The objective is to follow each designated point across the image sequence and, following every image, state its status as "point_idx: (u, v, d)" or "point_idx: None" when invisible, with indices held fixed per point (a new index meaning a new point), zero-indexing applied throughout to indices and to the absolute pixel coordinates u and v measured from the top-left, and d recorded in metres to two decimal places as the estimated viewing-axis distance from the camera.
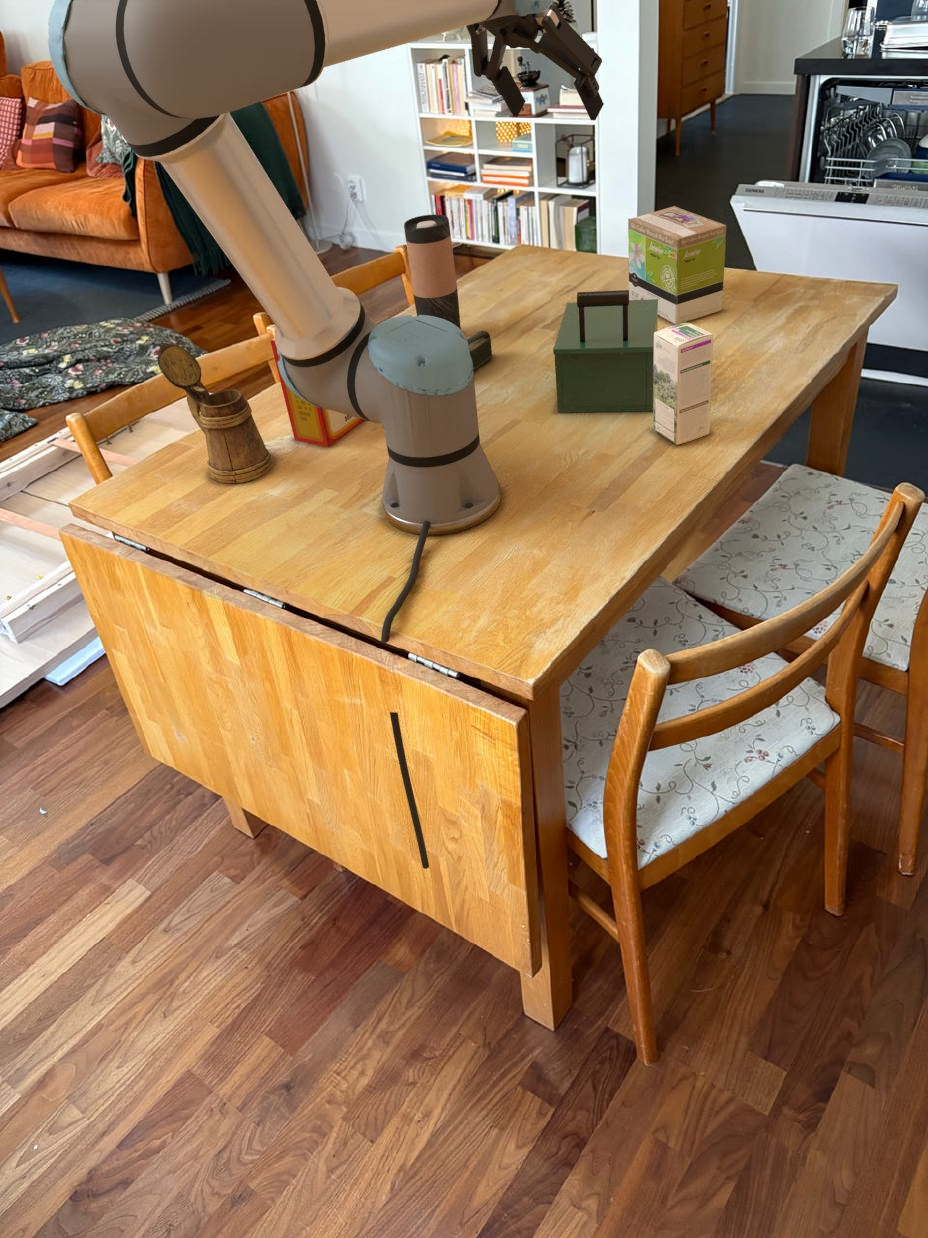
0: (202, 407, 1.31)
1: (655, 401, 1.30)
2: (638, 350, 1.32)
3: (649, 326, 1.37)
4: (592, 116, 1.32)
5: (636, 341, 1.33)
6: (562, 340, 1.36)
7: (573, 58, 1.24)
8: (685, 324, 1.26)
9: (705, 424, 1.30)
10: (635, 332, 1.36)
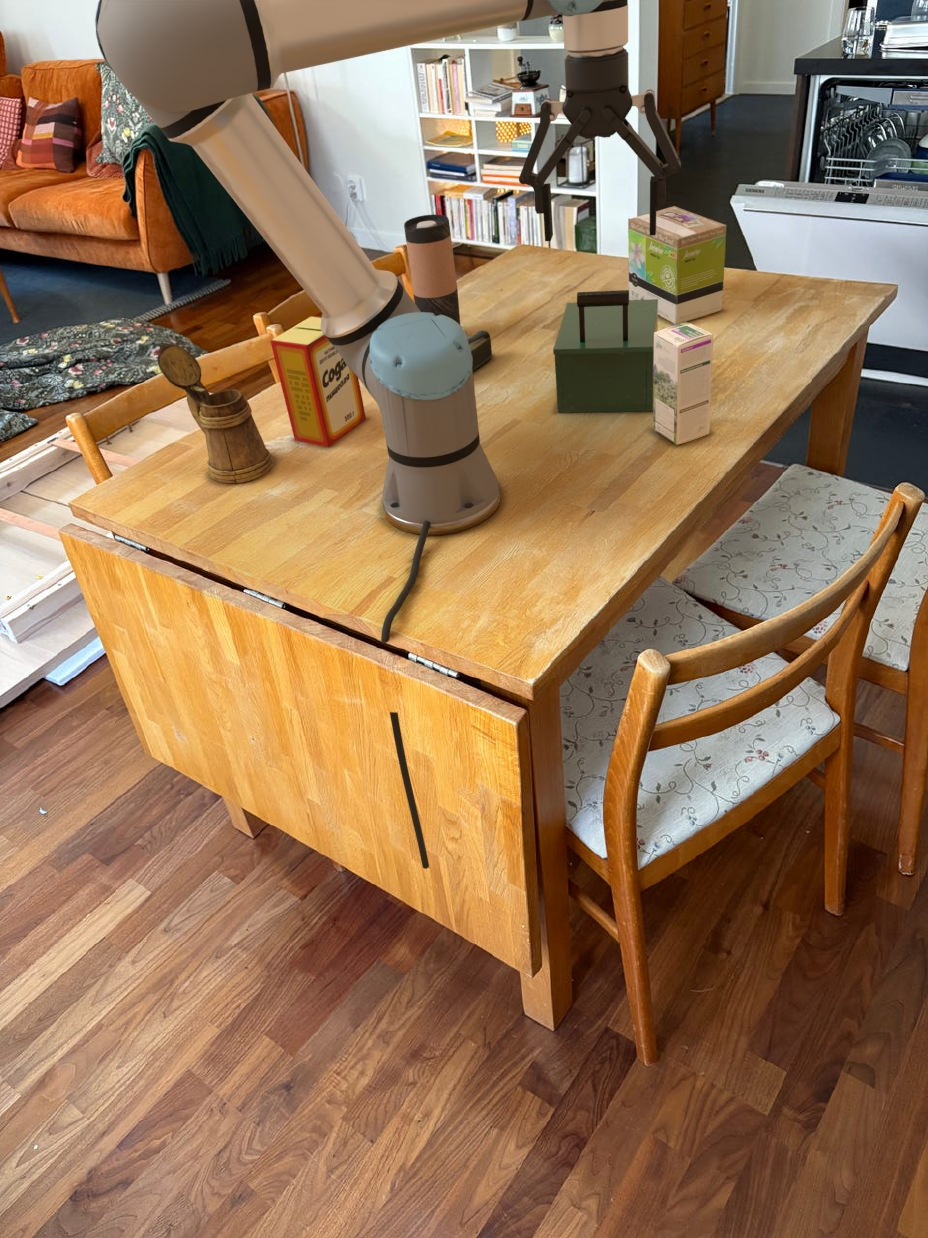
0: (202, 407, 1.31)
1: (655, 401, 1.30)
2: (638, 350, 1.32)
3: (649, 326, 1.37)
4: (653, 229, 1.23)
5: (636, 341, 1.33)
6: (562, 340, 1.36)
7: (664, 146, 1.17)
8: (685, 324, 1.26)
9: (705, 424, 1.30)
10: (635, 332, 1.36)
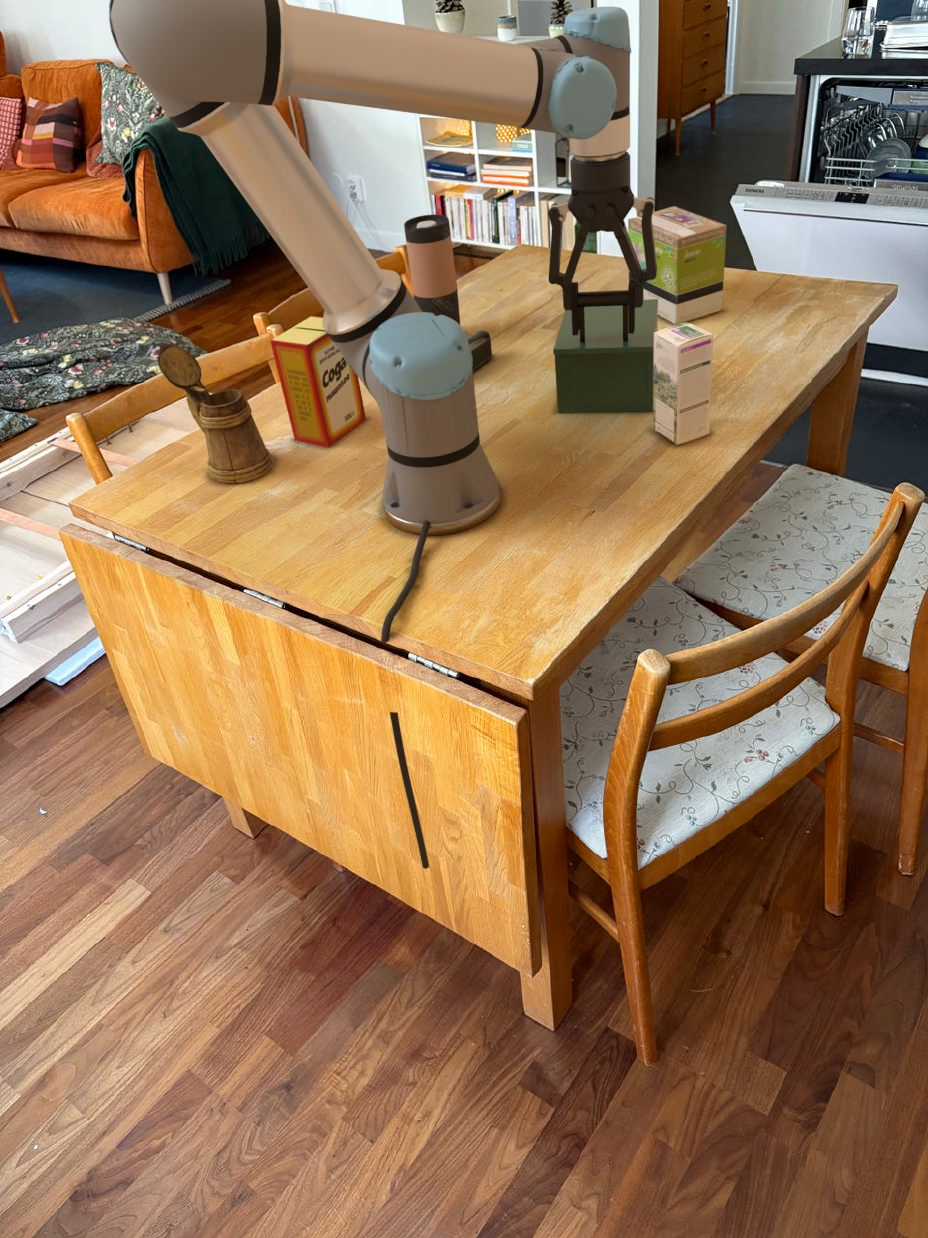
0: (202, 407, 1.31)
1: (655, 401, 1.30)
2: (638, 350, 1.32)
3: (649, 326, 1.37)
4: (632, 328, 1.32)
5: (636, 341, 1.33)
6: (562, 340, 1.36)
7: (648, 252, 1.25)
8: (685, 324, 1.26)
9: (705, 424, 1.30)
10: (635, 332, 1.36)
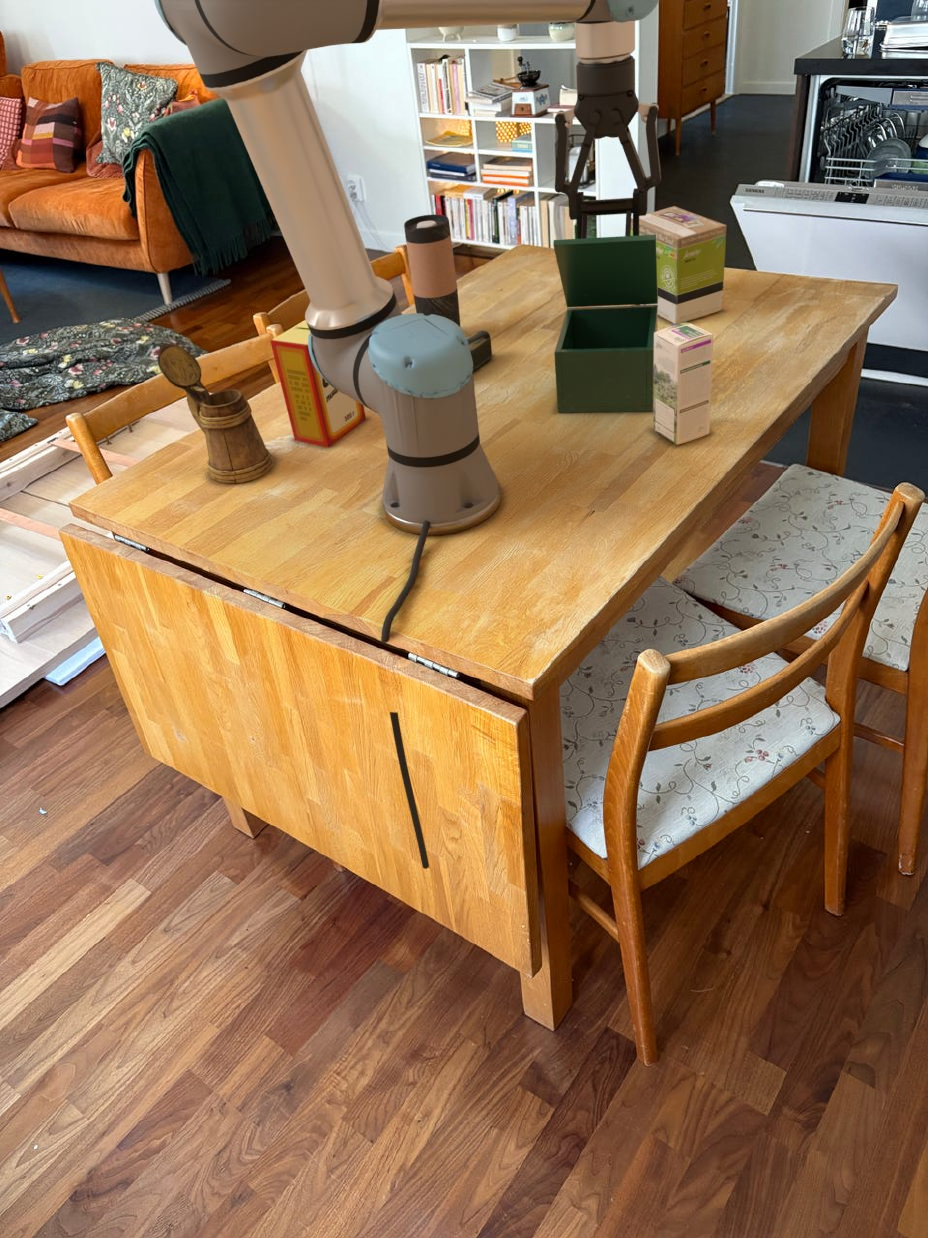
0: (202, 407, 1.31)
1: (655, 401, 1.30)
2: (640, 238, 1.28)
3: None
4: None
5: None
6: None
7: (652, 158, 1.28)
8: (685, 324, 1.26)
9: (705, 424, 1.30)
10: None
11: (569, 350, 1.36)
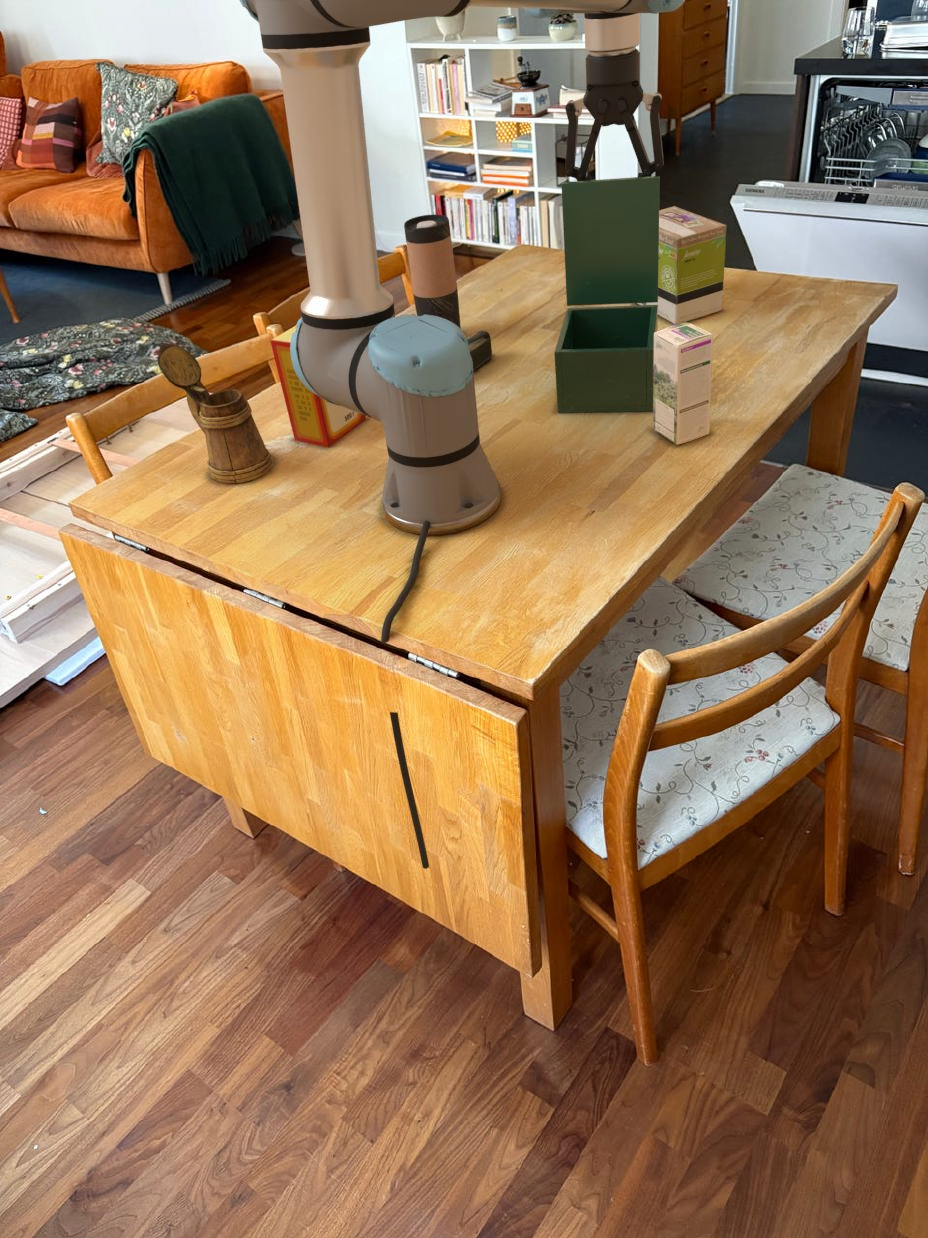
0: (202, 407, 1.31)
1: (655, 401, 1.30)
2: (645, 177, 1.35)
3: None
4: None
5: None
6: None
7: (656, 144, 1.38)
8: (685, 324, 1.25)
9: (705, 424, 1.30)
10: None
11: (569, 350, 1.36)
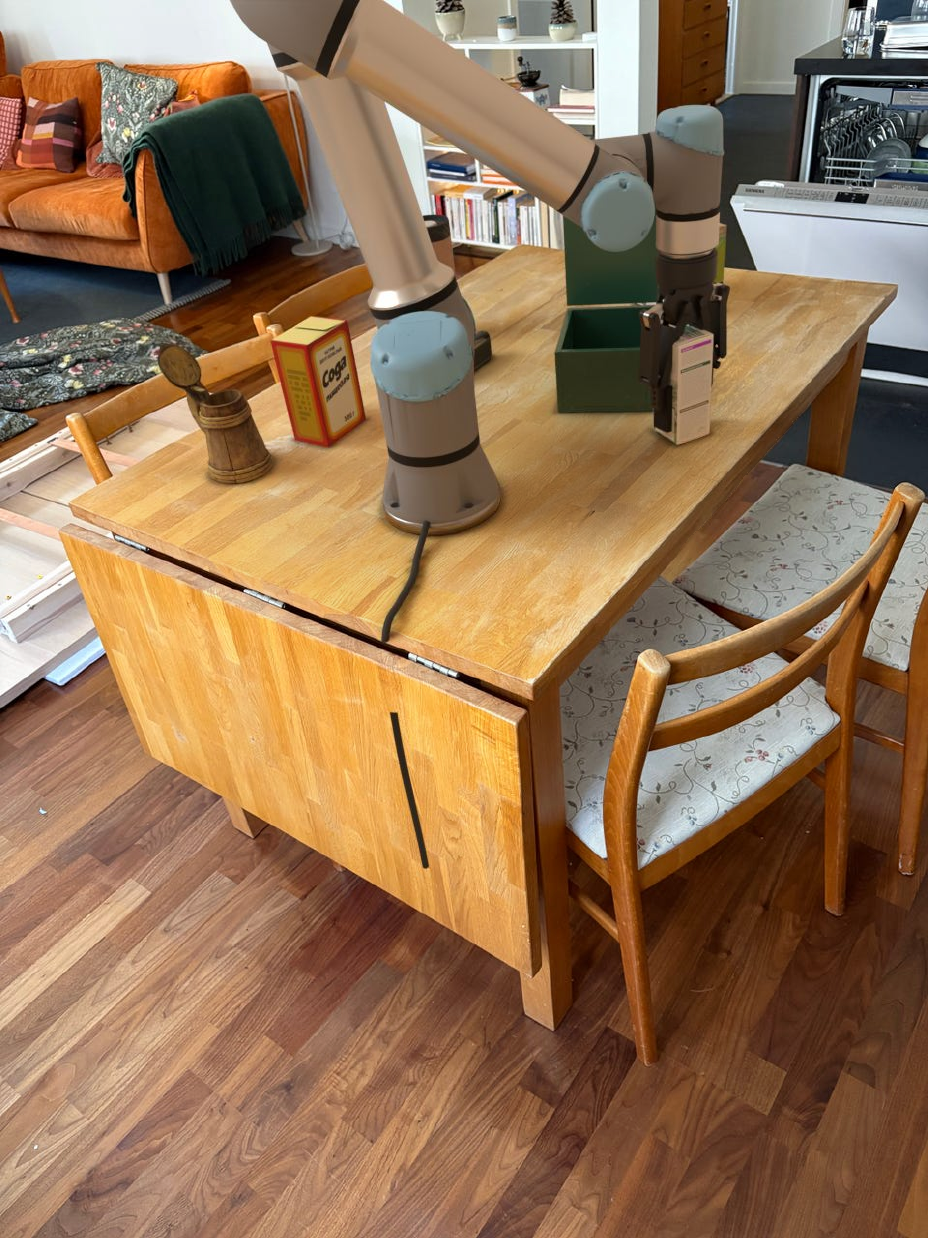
0: (202, 407, 1.31)
1: None
2: None
3: None
4: None
5: None
6: None
7: (723, 333, 1.26)
8: None
9: (705, 424, 1.30)
10: None
11: (569, 350, 1.36)
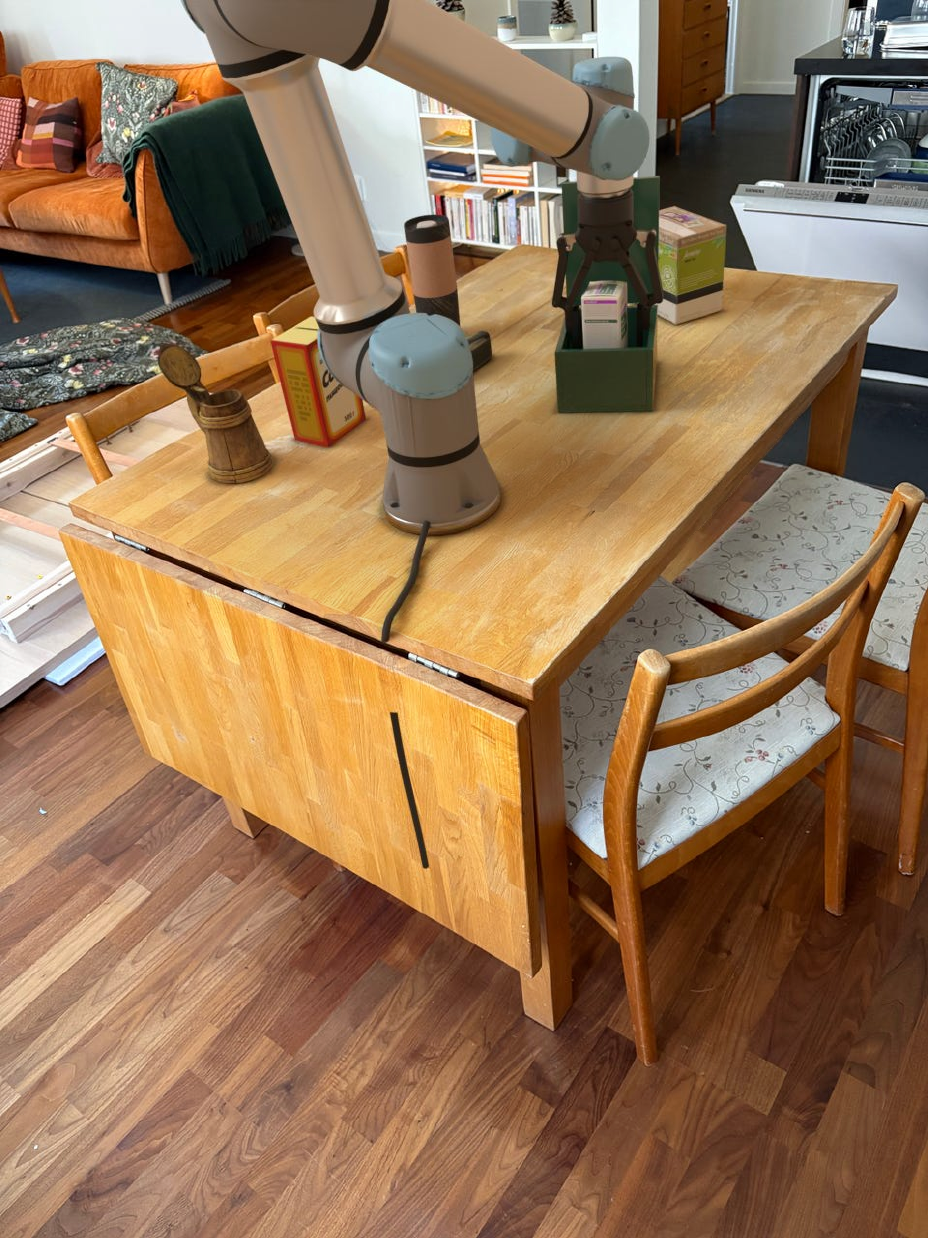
0: (202, 407, 1.31)
1: None
2: (645, 177, 1.35)
3: None
4: None
5: None
6: None
7: (654, 279, 1.34)
8: (618, 282, 1.37)
9: None
10: None
11: (569, 350, 1.36)
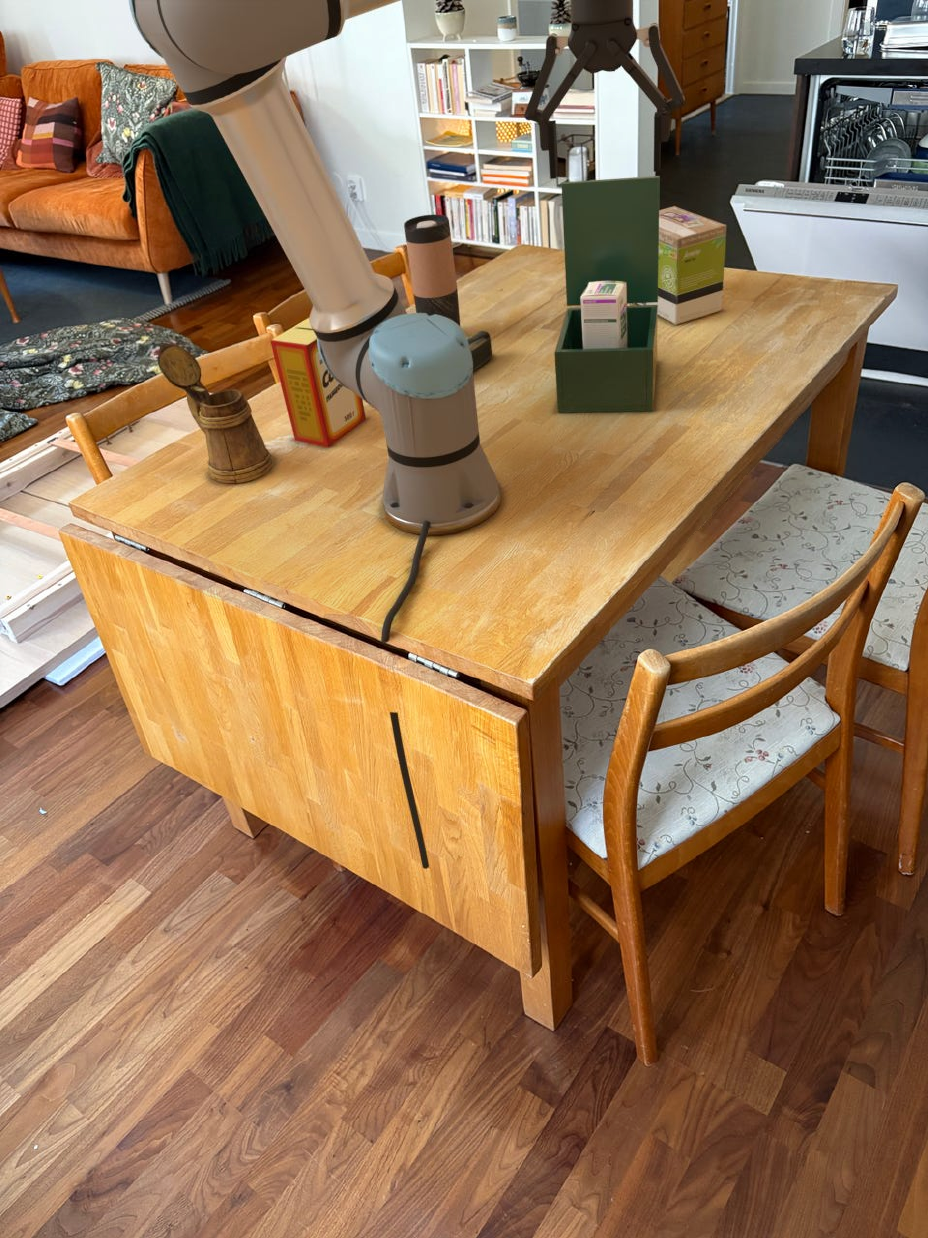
0: (202, 407, 1.31)
1: None
2: (645, 177, 1.35)
3: None
4: (657, 165, 1.24)
5: None
6: None
7: (668, 79, 1.18)
8: (618, 282, 1.38)
9: None
10: None
11: (569, 350, 1.36)
